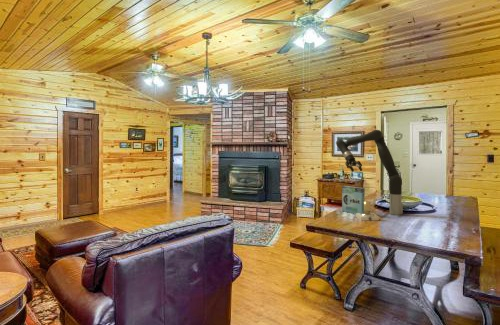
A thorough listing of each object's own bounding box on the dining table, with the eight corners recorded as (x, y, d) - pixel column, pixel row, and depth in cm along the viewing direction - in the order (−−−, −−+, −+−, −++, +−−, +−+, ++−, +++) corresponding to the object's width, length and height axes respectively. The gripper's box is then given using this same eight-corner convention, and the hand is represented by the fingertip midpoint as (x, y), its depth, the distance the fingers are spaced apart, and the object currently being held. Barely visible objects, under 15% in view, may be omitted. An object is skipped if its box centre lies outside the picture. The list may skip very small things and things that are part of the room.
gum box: (342, 211, 263) (341, 186, 262) (345, 210, 266) (345, 185, 265) (361, 215, 248) (361, 188, 246) (365, 214, 251) (364, 188, 249)
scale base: (373, 216, 242) (373, 212, 242) (379, 220, 230) (379, 216, 230) (356, 216, 243) (356, 213, 243) (361, 220, 231) (361, 216, 231)
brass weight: (369, 213, 239) (369, 201, 238) (371, 214, 234) (371, 202, 233) (362, 213, 239) (362, 201, 239) (365, 214, 234) (365, 202, 234)
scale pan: (371, 213, 242) (371, 212, 242) (376, 216, 231) (376, 215, 231) (358, 213, 242) (358, 212, 242) (362, 216, 231) (362, 215, 231)
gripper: (344, 154, 255) (352, 168, 245) (357, 153, 259) (366, 167, 249) (340, 160, 260) (348, 174, 250) (353, 159, 265) (362, 173, 255)
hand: (357, 170), depth 250 cm, fingers open, 8 cm apart
